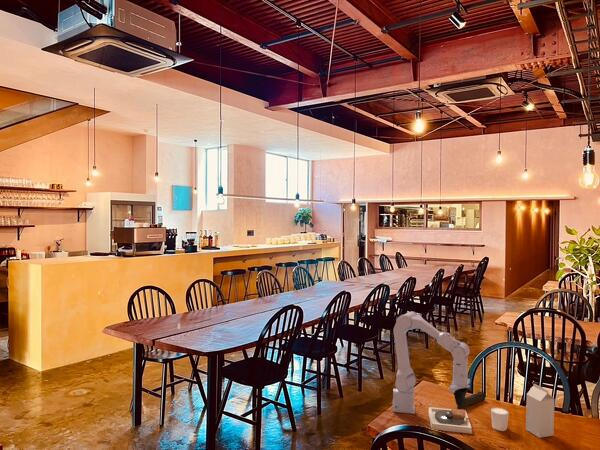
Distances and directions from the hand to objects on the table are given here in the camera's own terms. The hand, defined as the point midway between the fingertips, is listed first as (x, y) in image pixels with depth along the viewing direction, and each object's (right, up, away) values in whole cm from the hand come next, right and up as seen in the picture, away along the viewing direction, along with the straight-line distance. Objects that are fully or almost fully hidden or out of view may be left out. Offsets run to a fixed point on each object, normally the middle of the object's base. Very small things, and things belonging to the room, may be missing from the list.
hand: (459, 404), depth 184 cm
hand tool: (+13, -9, +21) cm, 26 cm away
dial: (-3, -7, +4) cm, 9 cm away
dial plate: (-3, -9, +4) cm, 10 cm away
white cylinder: (+17, -9, -1) cm, 19 cm away
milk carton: (+31, -10, -5) cm, 33 cm away
